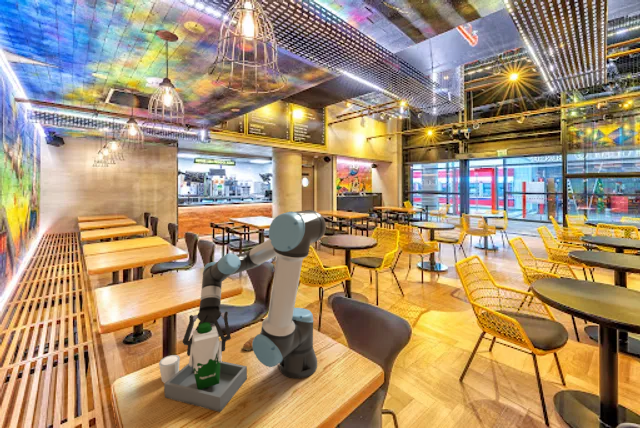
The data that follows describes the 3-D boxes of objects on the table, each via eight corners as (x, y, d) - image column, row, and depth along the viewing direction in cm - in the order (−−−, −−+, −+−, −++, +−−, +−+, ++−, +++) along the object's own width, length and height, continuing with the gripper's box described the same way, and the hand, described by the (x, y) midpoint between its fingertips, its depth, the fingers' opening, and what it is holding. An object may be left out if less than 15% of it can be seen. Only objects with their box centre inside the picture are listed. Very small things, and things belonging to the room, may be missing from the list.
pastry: (248, 354, 118) (248, 345, 118) (240, 347, 123) (239, 339, 123) (266, 345, 125) (266, 337, 125) (257, 339, 130) (257, 332, 129)
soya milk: (218, 369, 104) (216, 319, 102) (222, 384, 96) (220, 330, 94) (193, 376, 100) (190, 324, 98) (195, 393, 92) (191, 337, 90)
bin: (246, 378, 103) (246, 366, 102) (220, 412, 87) (220, 397, 87) (197, 368, 109) (197, 356, 108) (164, 397, 93) (164, 383, 93)
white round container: (157, 385, 99) (156, 367, 98) (162, 373, 105) (161, 356, 105) (178, 382, 101) (177, 364, 100) (182, 370, 107) (181, 353, 107)
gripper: (239, 301, 113) (238, 361, 99) (182, 306, 108) (173, 370, 94) (238, 293, 107) (237, 356, 94) (178, 298, 102) (168, 365, 88)
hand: (205, 363), depth 94 cm, fingers closed on soya milk, 9 cm apart
